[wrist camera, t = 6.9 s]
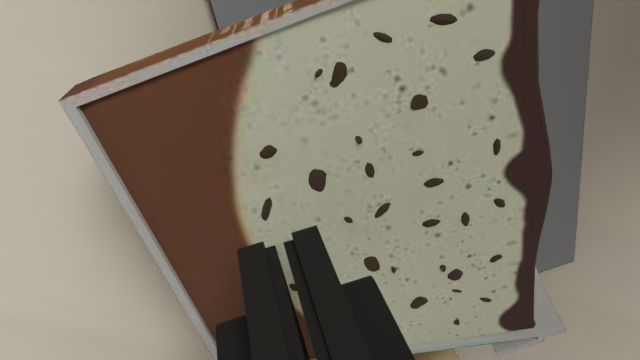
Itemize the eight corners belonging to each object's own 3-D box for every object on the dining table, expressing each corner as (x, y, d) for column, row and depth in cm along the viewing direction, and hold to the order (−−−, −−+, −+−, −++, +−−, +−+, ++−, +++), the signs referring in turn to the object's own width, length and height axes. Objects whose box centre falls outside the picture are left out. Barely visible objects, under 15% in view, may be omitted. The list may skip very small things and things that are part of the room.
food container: (252, 266, 21) (493, 213, 20) (242, 406, 15) (565, 342, 15) (112, -45, 14) (475, -148, 13) (12, 24, 9) (602, -138, 8)
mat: (602, -264, 13) (613, -268, 13) (567, 256, 22) (573, 261, 22) (160, -170, 12) (158, -172, 12) (311, 339, 21) (313, 346, 21)
